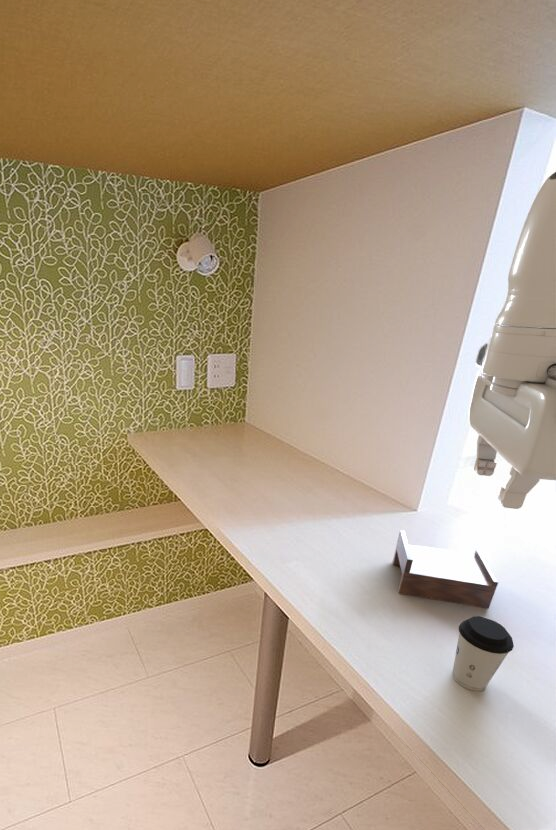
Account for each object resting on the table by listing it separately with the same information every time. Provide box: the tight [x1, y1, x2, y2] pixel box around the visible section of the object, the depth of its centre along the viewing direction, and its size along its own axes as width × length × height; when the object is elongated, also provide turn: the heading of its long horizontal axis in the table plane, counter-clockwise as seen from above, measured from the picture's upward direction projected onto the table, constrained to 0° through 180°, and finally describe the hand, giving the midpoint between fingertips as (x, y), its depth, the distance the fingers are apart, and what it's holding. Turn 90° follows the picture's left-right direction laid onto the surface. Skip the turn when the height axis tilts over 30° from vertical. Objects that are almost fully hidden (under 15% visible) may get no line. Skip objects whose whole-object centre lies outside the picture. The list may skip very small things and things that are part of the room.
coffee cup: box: [452, 615, 514, 692], centre depth 65 cm, size 7×7×10 cm
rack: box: [392, 530, 499, 609], centre depth 88 cm, size 16×12×8 cm
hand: (494, 488), depth 49 cm, fingers open, 8 cm apart
